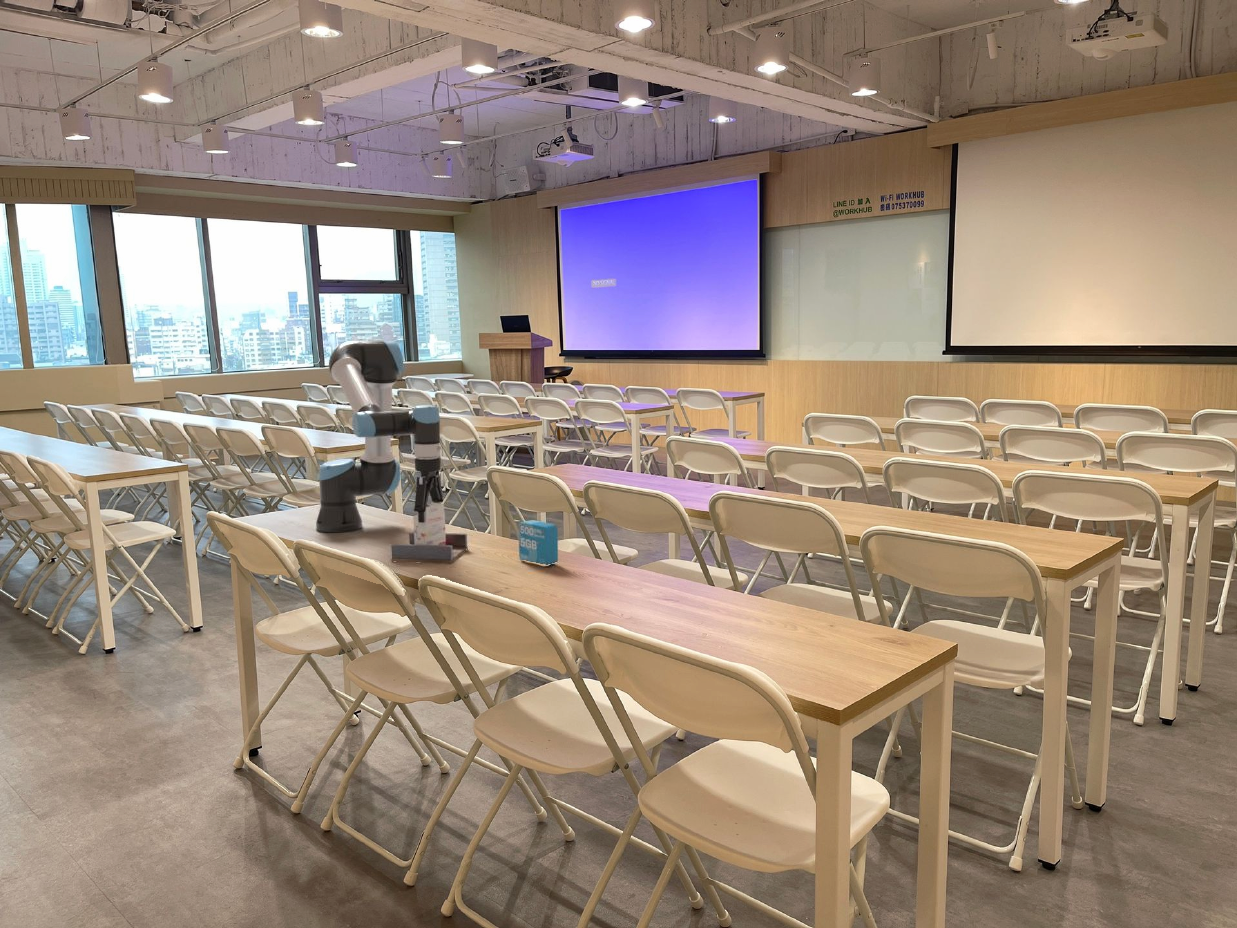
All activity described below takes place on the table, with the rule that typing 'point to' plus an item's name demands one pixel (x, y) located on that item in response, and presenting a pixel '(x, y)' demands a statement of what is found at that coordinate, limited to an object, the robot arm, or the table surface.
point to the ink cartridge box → (432, 527)
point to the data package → (538, 542)
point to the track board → (430, 550)
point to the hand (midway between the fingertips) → (429, 528)
